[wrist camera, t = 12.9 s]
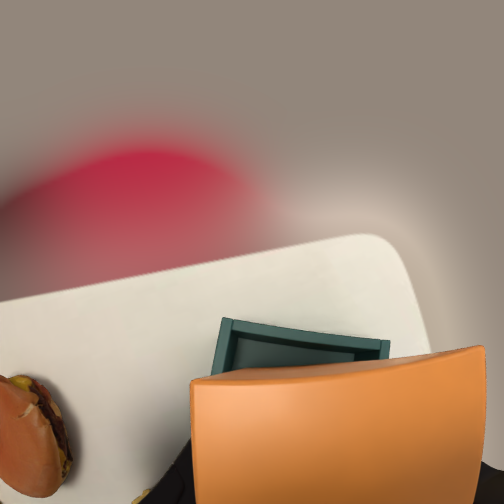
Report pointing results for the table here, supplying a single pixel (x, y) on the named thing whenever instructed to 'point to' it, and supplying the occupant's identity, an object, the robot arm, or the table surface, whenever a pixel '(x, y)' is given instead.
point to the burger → (31, 438)
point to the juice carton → (342, 432)
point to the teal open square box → (287, 347)
